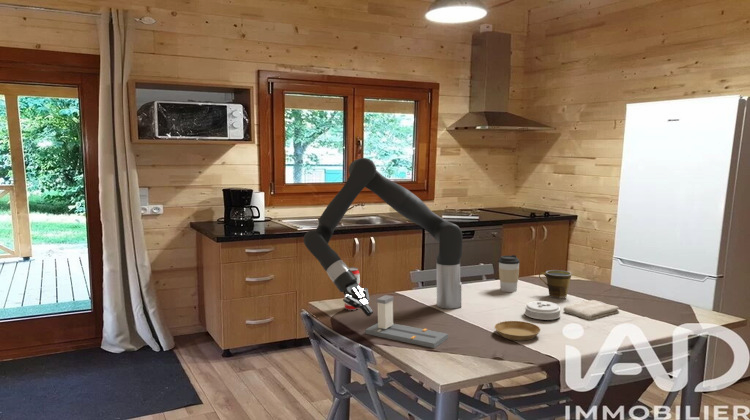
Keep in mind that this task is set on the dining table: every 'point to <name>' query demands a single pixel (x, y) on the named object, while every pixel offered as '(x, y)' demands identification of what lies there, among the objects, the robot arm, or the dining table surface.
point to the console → (409, 335)
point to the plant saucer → (517, 330)
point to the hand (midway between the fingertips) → (370, 314)
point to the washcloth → (591, 309)
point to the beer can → (357, 275)
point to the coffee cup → (508, 273)
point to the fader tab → (385, 311)
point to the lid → (542, 310)
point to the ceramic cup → (557, 283)
